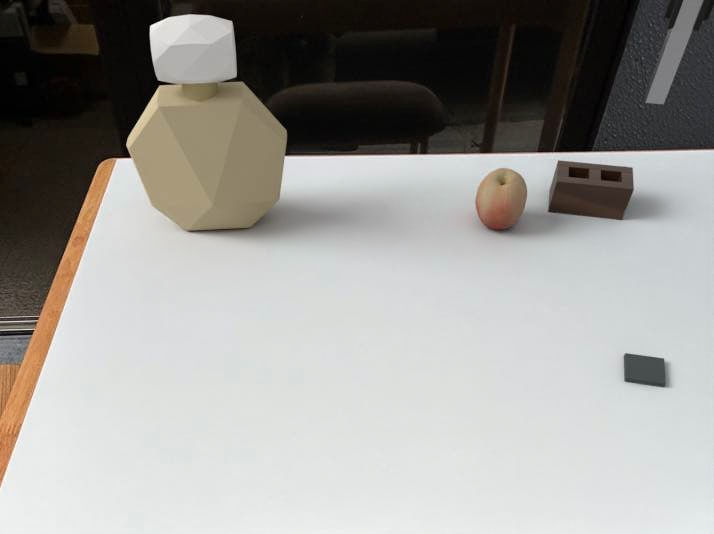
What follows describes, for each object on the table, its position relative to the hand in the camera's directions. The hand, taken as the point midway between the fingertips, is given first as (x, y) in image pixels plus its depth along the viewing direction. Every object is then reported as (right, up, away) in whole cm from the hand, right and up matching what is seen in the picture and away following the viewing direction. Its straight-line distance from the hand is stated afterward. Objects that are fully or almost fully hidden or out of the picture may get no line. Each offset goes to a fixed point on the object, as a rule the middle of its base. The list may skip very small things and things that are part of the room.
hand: (682, 24), depth 82 cm
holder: (-1, -9, +26) cm, 28 cm away
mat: (-3, -43, +4) cm, 43 cm away
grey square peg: (0, -5, +7) cm, 9 cm away
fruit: (-17, -14, +24) cm, 32 cm away
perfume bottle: (-62, -12, +26) cm, 69 cm away
